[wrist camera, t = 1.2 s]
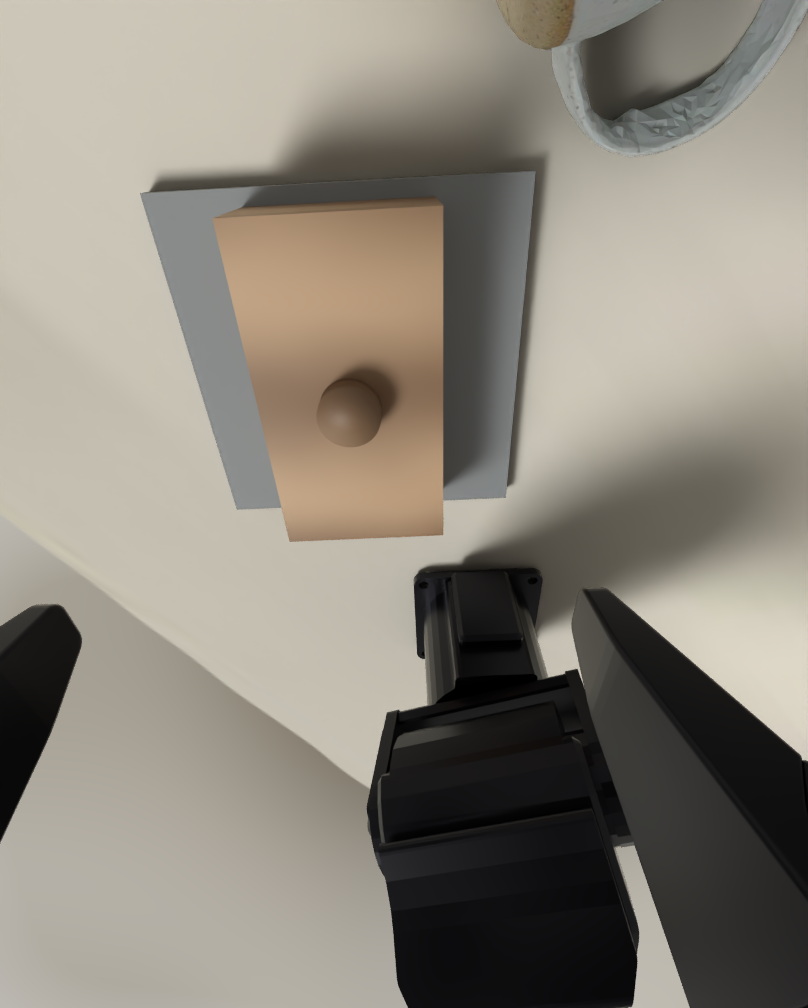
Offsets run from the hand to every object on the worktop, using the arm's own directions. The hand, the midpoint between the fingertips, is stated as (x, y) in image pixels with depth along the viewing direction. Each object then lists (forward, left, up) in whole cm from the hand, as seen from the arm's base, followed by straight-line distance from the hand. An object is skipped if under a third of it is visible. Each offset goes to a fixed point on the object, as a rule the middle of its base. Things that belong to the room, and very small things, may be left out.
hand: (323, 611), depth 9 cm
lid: (0, 0, -12) cm, 12 cm away
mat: (0, 0, -12) cm, 12 cm away
